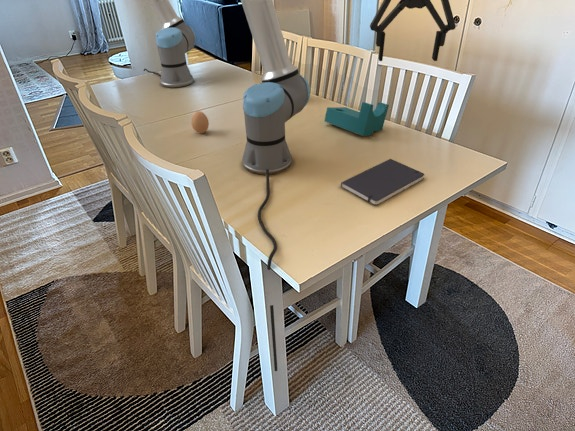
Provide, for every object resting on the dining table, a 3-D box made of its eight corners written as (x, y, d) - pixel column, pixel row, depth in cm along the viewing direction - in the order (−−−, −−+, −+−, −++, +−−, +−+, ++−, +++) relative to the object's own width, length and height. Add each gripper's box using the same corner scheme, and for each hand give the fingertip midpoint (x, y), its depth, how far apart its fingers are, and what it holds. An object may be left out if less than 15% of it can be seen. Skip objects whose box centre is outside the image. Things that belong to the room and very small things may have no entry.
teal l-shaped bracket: (380, 134, 144) (388, 104, 140) (363, 135, 137) (370, 104, 132) (342, 120, 155) (349, 92, 151) (324, 121, 148) (330, 92, 143)
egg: (195, 137, 143) (191, 115, 138) (191, 131, 147) (187, 110, 142) (211, 134, 144) (208, 112, 140) (207, 127, 149) (204, 107, 144)
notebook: (389, 163, 124) (340, 187, 113) (390, 158, 123) (341, 182, 112) (424, 178, 116) (375, 206, 105) (425, 174, 115) (376, 201, 104)
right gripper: (473, -41, 93) (453, 55, 105) (364, -38, 95) (357, 55, 108) (483, -38, 87) (461, 63, 99) (366, -36, 89) (358, 63, 101)
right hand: (407, 59), depth 104 cm, fingers open, 13 cm apart
